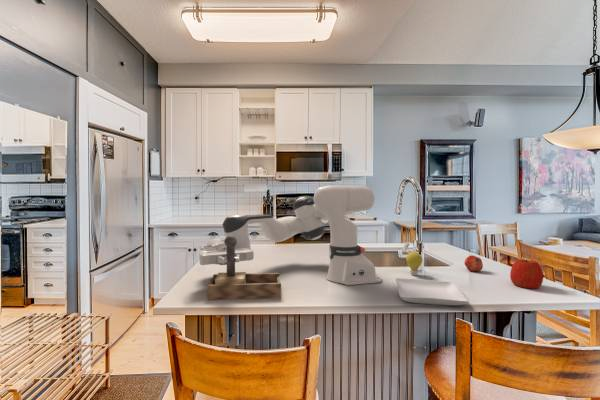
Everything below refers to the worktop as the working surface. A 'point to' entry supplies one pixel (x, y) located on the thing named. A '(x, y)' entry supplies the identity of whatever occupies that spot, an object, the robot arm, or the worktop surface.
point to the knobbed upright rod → (231, 265)
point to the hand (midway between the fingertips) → (231, 260)
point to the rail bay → (247, 288)
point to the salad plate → (430, 292)
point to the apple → (526, 274)
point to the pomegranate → (473, 263)
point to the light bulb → (414, 262)
